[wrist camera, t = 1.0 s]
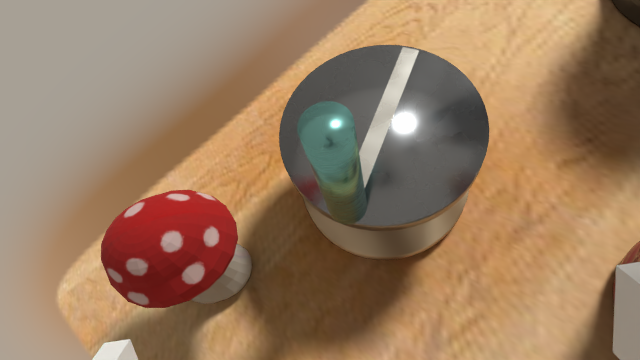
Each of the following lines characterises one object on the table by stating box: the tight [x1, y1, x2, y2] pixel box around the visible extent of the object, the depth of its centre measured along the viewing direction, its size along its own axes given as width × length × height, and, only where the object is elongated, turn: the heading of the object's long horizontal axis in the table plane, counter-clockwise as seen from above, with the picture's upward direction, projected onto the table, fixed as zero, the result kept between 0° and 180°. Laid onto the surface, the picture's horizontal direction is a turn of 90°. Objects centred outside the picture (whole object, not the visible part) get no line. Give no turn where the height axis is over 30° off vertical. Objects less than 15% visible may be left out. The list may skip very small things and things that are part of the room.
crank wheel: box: [279, 45, 489, 231], centre depth 31 cm, size 16×16×18 cm
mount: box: [303, 190, 469, 260], centre depth 41 cm, size 16×16×3 cm
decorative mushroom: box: [101, 190, 252, 308], centre depth 34 cm, size 10×9×15 cm
